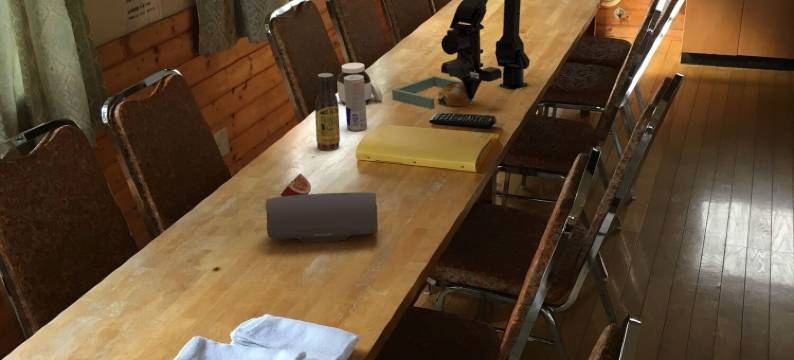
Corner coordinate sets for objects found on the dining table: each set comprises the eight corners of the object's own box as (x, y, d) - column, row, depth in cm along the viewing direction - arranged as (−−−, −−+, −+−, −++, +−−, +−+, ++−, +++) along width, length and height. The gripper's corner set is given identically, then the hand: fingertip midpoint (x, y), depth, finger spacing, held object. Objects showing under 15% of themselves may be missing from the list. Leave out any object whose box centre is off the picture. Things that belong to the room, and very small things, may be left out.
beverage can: (370, 125, 265) (367, 74, 259) (362, 132, 260) (359, 80, 254) (351, 124, 267) (348, 73, 261) (344, 131, 262) (340, 79, 256)
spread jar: (334, 103, 286) (332, 66, 282) (361, 94, 294) (358, 57, 289) (362, 110, 279) (360, 72, 274) (388, 100, 286) (386, 63, 282)
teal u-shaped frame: (434, 84, 300) (434, 75, 298) (473, 93, 289) (473, 84, 288) (392, 99, 287) (392, 89, 286) (431, 108, 277) (431, 99, 275)
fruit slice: (290, 190, 224) (288, 171, 222) (316, 192, 222) (315, 173, 220) (276, 204, 216) (274, 184, 214) (303, 207, 214) (301, 186, 212)
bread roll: (465, 119, 278) (476, 95, 274) (433, 104, 278) (444, 81, 274) (468, 108, 287) (478, 85, 284) (437, 94, 287) (447, 71, 283)
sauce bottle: (322, 153, 246) (316, 79, 239) (313, 146, 252) (307, 74, 244) (345, 148, 249) (340, 75, 242) (335, 141, 254) (330, 70, 247)
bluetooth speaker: (377, 226, 203) (375, 183, 199) (378, 245, 194) (376, 200, 191) (272, 231, 203) (268, 189, 199) (268, 251, 194) (263, 206, 190)
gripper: (427, 48, 272) (429, 100, 278) (477, 57, 260) (478, 111, 266) (452, 40, 279) (454, 91, 285) (502, 49, 267) (503, 101, 273)
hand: (471, 98), depth 277 cm, fingers closed
